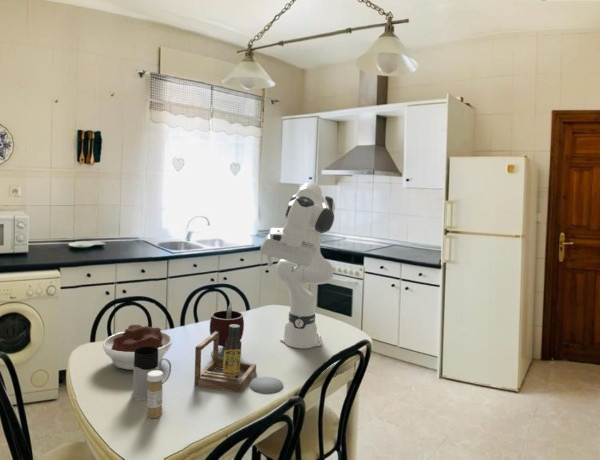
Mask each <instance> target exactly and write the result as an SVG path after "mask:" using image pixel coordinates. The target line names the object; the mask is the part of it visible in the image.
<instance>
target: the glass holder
mask: <svg viewBox="0 0 600 460" xmlns="http://www.w3.org/2000/svg"><path fill="white" fill-rule="evenodd" d="M164 360H165V361H166V362H167V363H168V373H167V377H166V379H164V381H162V385H163V384H165V383H166V382H167V381H168V379H169V378H170V376H171V372H172V363H171V360H169V359H168V358H166V357H163V358H162V359H161V360H160V362H159V363H158V349H157V348H155V347H141V348H138V349H136V350H135V351H134V370H133V376H132V377H133V380H132V381H133V382H132V383H133V386H132V387H133V388H132V392H131V398H133V399H134V400H139V401H146V400H147V389H148V380H147V374H148V373H149V372H151V371H155V370H158V371H160V370H161V365H162V361H164Z"/></svg>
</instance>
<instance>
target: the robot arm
mask: <svg viewBox="0 0 600 460" xmlns="http://www.w3.org/2000/svg"><path fill="white" fill-rule="evenodd" d="M322 192H323V191H322V188H321V186H320V185H319V184H317V183H316V182H313V181H311V182H310V181H309V182H305V183H304V184H302V185H301V186H299V188H298V190H297V192H296V194H293V195H292V196H291V197H290V199H289V201H288V206H287V209H286V212H285V218H286V223H284V226H283V227H271V228H270V230H269V233H268V234H267V235H266V236H265V238H264V239H263V241H262V243H261V246H260V253H261V255H266V256H267V260H268V263H267V266H268V267H272V266H273V263H274V261H273V260H272V257H273V258H275V259H280V260H278V262H277V264H276V266H275V273H276V276H277V278H278V279H279V280H280V281H281V282H282V283H283V284H284V285H285V287H286V288H287V291H288V293H289V301H290V302H289V305H290V308H289V311H288V321H287V322H286V323H285V325H284V335H283V336H281V337H280V340H279V341H280V342H282V343H284V344H285V345H287V346H289V347H291V348H295V349H310V348H311V349H312V348H315V347H321V346H322V341H321V333H320V332H318V326H317V323H316V312H315V307H316V298H315V297H316V296H315V295H314V294H313V293H312V292H311V291H309V290H308V289H306V288H305V287H304V285H303V284H308V285H309V284H310V285H324V284H329V283H330V282H331V281H332V279H333V277H334V268H333V265H332V264H331V263H330V262H329V261H328V260H326V258H325V257H324V256H323V255H322V253H321V241H322V240H321V238H322V234H324V233H325V234H326V233H328V232H329V231H330V230H331V229H332V227H333V225H334V222H335V209H336V206H335V205H336V204H335V202H334V199H333V197H331V196H327V195H325V196H324V195H323V193H322Z"/></svg>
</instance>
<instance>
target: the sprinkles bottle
mask: <svg viewBox="0 0 600 460" xmlns="http://www.w3.org/2000/svg"><path fill="white" fill-rule="evenodd" d="M163 379H164V372H163V371H162V370H155V371H151V372H149V373H148V374H147V380H148V389H147V401H146V405H147V410H146V411H147V413H146V416H147V417H148V418H151V419H155V418H156V419H157V418H160V417H161V416H162V414H163V408H162V407H163V384H162V383H163Z"/></svg>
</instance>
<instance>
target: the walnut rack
mask: <svg viewBox="0 0 600 460" xmlns="http://www.w3.org/2000/svg"><path fill="white" fill-rule="evenodd" d="M213 340H214V341H213ZM211 343H213V345H212V346H213V349H212V351H213V357H212V360H211V361H210V362H209V363H208V364H207V365H206V366H205V367H204V368H203V369H201V368H202V367H201V365H202V351H203V349H204V348H206V347H207V346H208V345H210V344H211ZM219 348H220V347H219V332H218V331H215V332H214V333H212V334H211V335H209V336H208V337H206V338H205V339H204V340H202V341H201V342H200V343H199V344H198V345H196V346H195V348H194V349H195V353H194V354H195V356H194V384H193V385H194V386H195V387H202V388H206V389H207V388H209V389H214V390H215V389H216V390H223V391H228V392H234V393H241V392H242V391H243V389H245V386H247V384H249V383H250V381H251V380H252V378H253V376H254V375H255V373H256V372H257V363H249V362H244V361H243V362H242V361H240V372H243V373H244V374H243V375H242V376H241V378H240V379H238V382H236V381H229V380H222V379H216V378H209V377H202V376H203V373H206V371H210V372H215V370H216V369H222V370H223V360H222V359H218V349H219Z"/></svg>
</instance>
